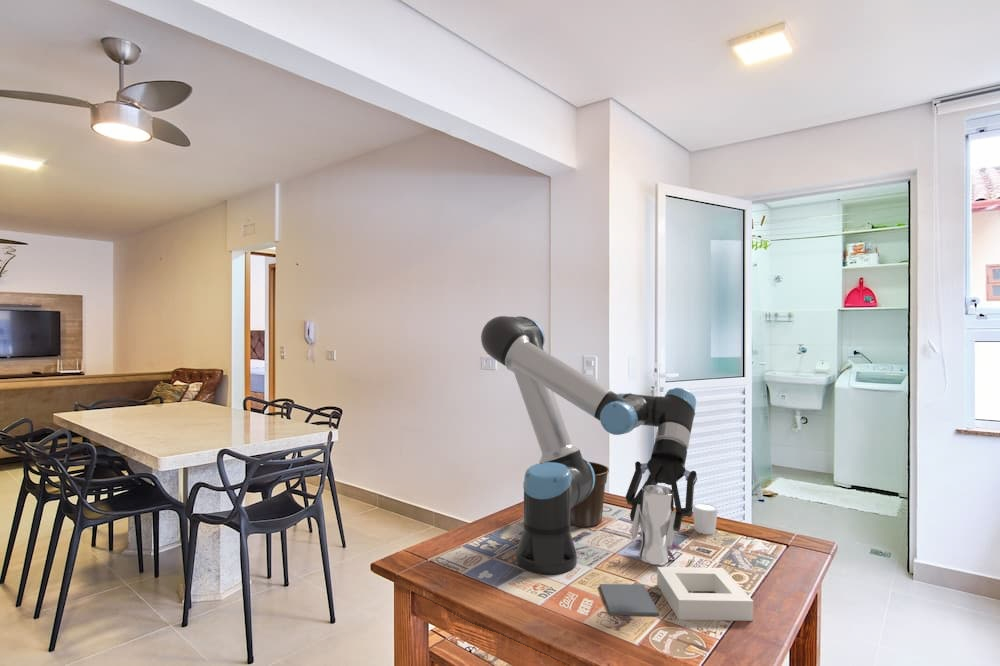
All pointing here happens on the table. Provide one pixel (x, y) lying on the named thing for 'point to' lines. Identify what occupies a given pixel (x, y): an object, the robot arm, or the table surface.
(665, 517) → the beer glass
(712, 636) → the table surface
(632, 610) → the slate coaster
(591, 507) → the plant pot
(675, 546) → the lily
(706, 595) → the board
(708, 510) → the white short tapered cylinder
